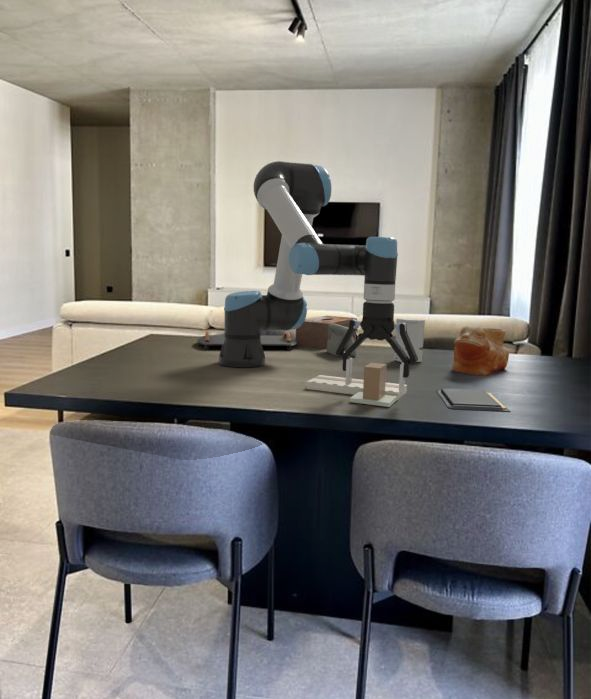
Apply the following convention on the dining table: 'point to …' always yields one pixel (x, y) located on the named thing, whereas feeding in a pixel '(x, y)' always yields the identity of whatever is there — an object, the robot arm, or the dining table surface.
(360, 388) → the pad
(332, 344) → the digital clock
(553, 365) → the dining table surface
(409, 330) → the skincare box
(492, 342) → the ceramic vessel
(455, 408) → the wallet
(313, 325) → the tissue box cover
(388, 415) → the dining table surface
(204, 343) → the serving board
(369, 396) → the stub
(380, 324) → the robot arm
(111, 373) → the dining table surface
